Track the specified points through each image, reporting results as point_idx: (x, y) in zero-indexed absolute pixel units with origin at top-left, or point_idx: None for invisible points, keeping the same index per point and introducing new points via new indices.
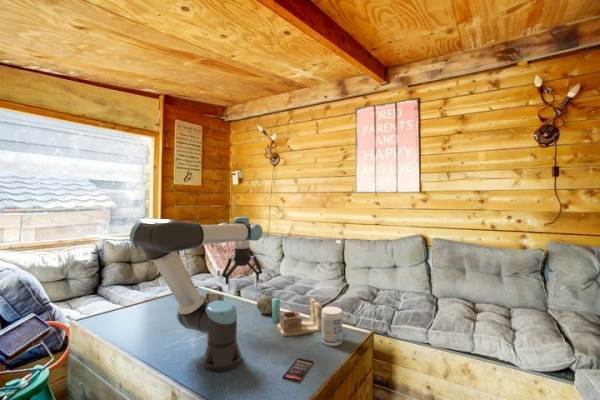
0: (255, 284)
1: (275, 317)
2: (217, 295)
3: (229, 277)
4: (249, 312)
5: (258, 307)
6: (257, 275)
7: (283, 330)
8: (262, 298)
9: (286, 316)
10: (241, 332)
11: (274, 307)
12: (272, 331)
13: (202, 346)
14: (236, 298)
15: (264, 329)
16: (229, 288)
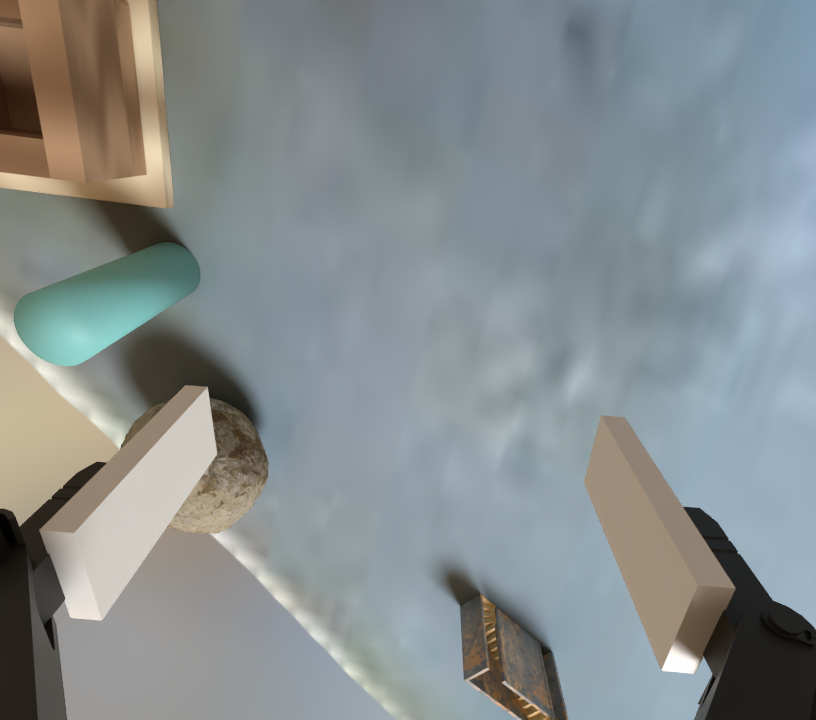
0: (179, 417)
1: (158, 254)
2: (498, 694)
3: (684, 621)
4: (327, 478)
5: (260, 454)
6: (34, 541)
7: (127, 23)
8: (200, 491)
9: (42, 137)
10: (447, 202)
11: (117, 281)
12: (223, 113)
13: (774, 90)
14: (364, 674)
15: (276, 177)
16: (621, 438)
